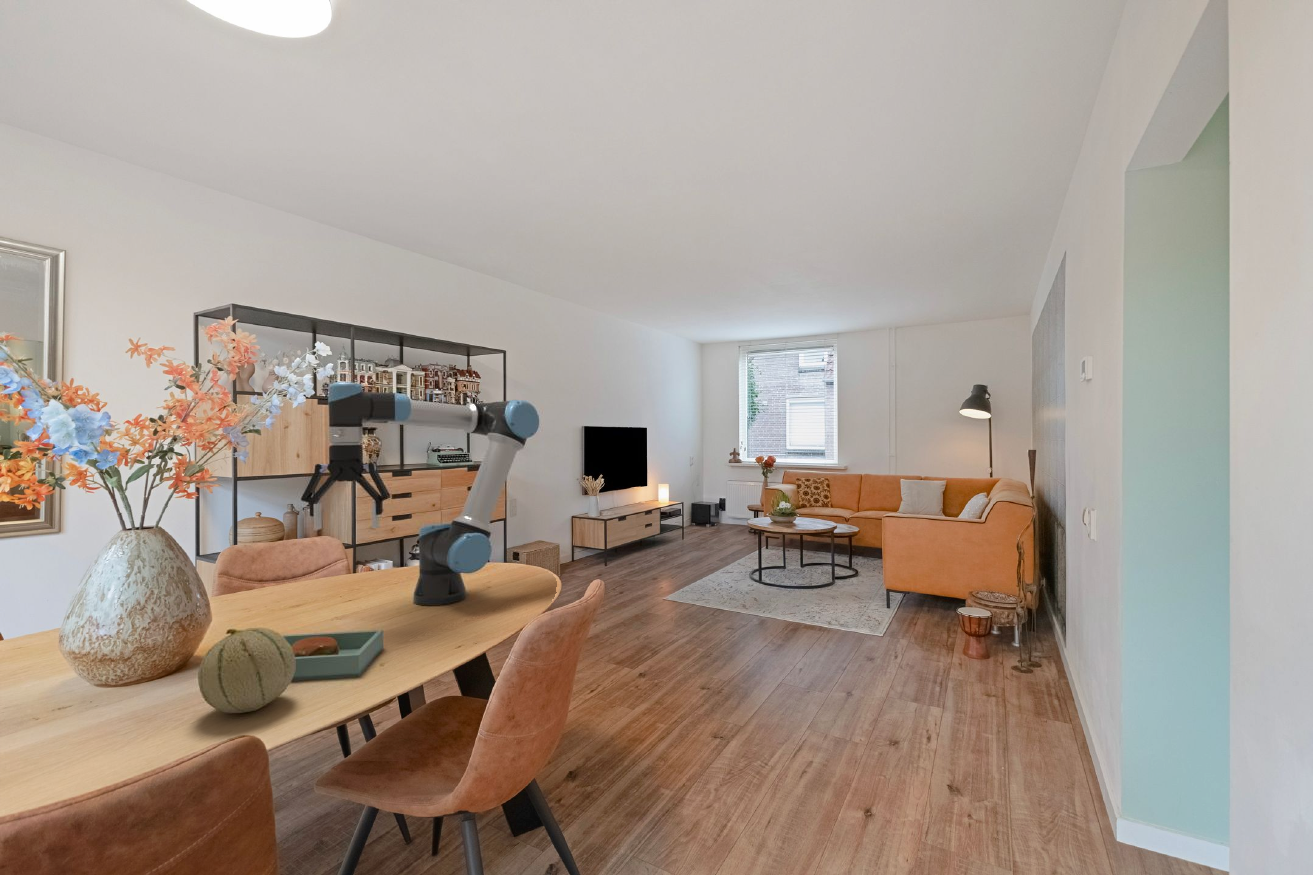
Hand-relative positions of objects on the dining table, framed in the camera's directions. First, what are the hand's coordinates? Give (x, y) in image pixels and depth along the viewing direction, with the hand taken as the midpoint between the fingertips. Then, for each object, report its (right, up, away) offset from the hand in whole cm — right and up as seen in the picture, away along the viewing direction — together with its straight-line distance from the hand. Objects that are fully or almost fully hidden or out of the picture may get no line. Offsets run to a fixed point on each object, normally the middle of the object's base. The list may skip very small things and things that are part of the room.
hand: (346, 528), depth 148 cm
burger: (+3, -26, -19) cm, 33 cm away
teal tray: (+3, -27, -20) cm, 33 cm away
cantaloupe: (+3, -27, -40) cm, 48 cm away
